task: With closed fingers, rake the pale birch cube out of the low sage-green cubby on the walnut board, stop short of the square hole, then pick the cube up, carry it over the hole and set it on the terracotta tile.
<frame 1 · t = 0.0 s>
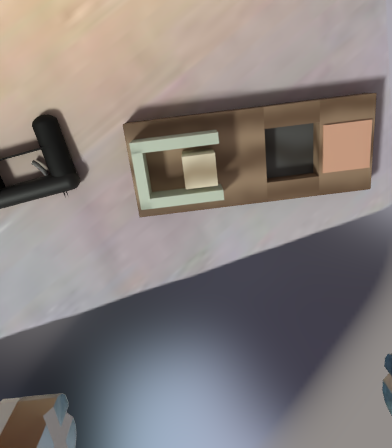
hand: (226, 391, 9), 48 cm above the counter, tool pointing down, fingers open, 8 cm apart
cubby: (178, 167, 52), resting on board
board: (248, 154, 55), on the counter
tile: (346, 146, 52), resting on board
cube: (198, 164, 52), point 3 cm above the counter, touching board
door handle: (7, 157, 54), on the counter
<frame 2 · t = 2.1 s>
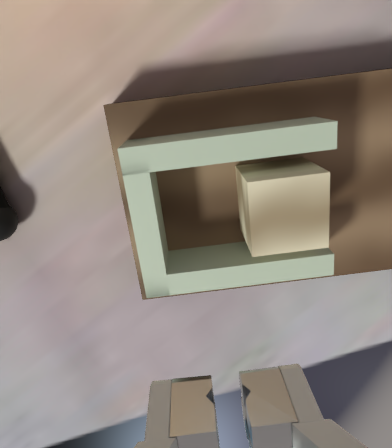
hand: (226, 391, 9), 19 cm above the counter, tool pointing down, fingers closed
cubby: (226, 199, 24), resting on board
board: (365, 170, 27), on the counter
cube: (270, 194, 24), point 3 cm above the counter, touching board
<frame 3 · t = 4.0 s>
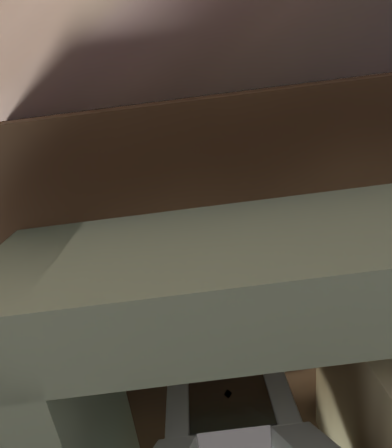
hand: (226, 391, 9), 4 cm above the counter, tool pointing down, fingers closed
cubby: (288, 364, 10), resting on board
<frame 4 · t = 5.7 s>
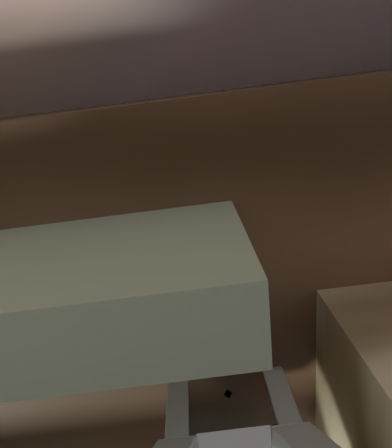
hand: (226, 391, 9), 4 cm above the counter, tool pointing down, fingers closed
cubby: (27, 394, 10), resting on board
board: (373, 286, 12), on the counter
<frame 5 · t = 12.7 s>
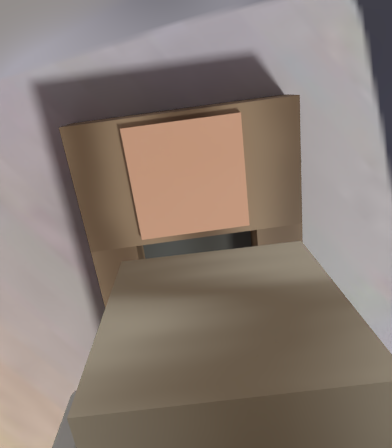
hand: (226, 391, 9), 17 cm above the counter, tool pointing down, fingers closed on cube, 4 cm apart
board: (209, 332, 29), on the counter
tile: (188, 178, 22), resting on board
cube: (219, 325, 10), point 16 cm above the counter, touching gripper
when the fingers open (6 cm above the counter, at t = 15.5 s): cube drops 1 cm, resting on tile.
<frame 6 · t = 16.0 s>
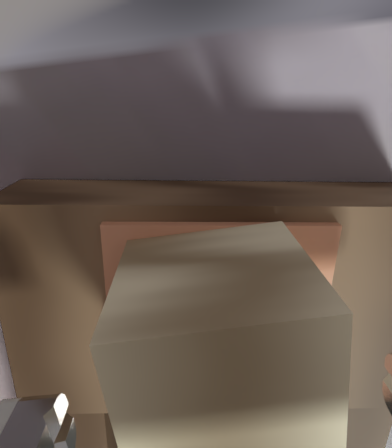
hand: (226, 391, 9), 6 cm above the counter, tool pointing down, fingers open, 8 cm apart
tile: (217, 321, 12), resting on board
cube: (212, 297, 11), point 3 cm above the counter, touching tile
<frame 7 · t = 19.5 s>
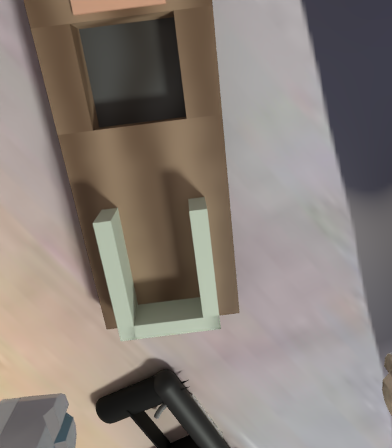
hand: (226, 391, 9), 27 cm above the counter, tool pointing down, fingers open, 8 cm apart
cubby: (162, 261, 34), resting on board
board: (146, 143, 33), on the counter
door handle: (163, 430, 47), on the counter
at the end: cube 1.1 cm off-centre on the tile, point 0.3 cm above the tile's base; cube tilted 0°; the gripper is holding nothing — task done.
